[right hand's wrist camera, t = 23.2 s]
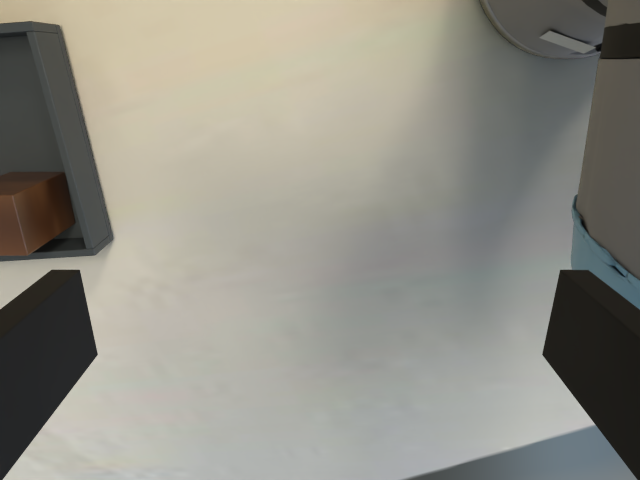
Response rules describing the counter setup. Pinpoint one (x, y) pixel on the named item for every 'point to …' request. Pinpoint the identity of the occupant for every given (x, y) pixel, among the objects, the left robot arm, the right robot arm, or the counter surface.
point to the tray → (49, 132)
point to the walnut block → (32, 210)
